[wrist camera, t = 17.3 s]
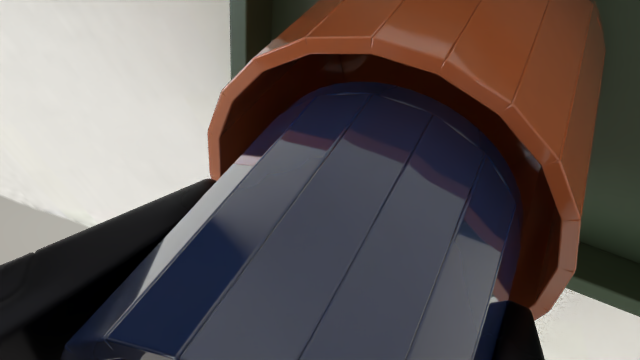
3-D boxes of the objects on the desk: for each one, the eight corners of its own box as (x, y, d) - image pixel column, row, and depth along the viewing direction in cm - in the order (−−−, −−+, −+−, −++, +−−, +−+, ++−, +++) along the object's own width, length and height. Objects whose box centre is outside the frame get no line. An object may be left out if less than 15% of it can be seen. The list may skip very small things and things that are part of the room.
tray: (261, 126, 21) (231, 158, 20) (272, -254, 14) (224, -250, 12) (683, 281, 18) (687, 336, 16) (1040, -122, 10) (1112, -91, 8)
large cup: (326, 123, 19) (213, 263, 14) (355, -111, 14) (198, -16, 9) (542, 199, 17) (498, 391, 12) (664, -38, 12) (670, 128, 7)
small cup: (265, 237, 14) (97, 463, 10) (273, 43, 10) (9, 273, 6) (476, 327, 12) (386, 635, 8) (572, 140, 9) (499, 523, 5)
